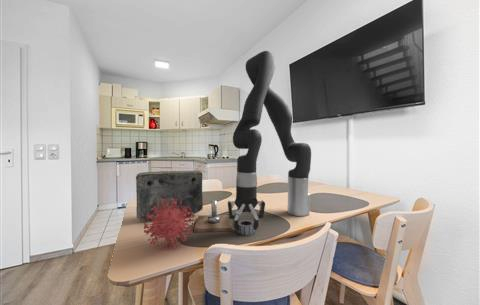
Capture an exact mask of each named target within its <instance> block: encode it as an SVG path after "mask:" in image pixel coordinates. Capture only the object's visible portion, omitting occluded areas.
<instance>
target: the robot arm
mask: <svg viewBox="0 0 480 305" xmlns="http://www.w3.org/2000/svg"><path fill="white" fill-rule="evenodd" d="M276 63H277V62H276V59H275V56H274V54H273V53H271V52H270V51H268V50H263V51H261V52H258V53H257V54H255V55H253V56H252V57H251V58H249V59H248V60H247V61H246V62H245V70H246V74H247V77H248V78H249V80H250V82H251V83H252V85H253V87H252V88H251V90H250V92H249V93H248V95H247V98H246V99H245V102H244V106H243V110H242V115H241V118H240V119H239V122H238V124H237V125H236V128H235V129H234V132H233V135H232V143H233V145H234V147H235V148H236V149H238V150H239V149H240V150H247V152H246V154H244V155H240V156H238V157H237V161H236V171H237V172H236V178H235V179H236V180H235V181H236V182H235V191H236V192H235V199H234V200H233V201H230V200H228V201H227V209H228V215H229V218H230V219H231V220H233V228H234V229H235V231H236V232H238V231H237V230H238V222H239V218H240V216H241V215H242V213H252V215H253V222H254V224H255V231H256V230H257V229H258V228H259V220H260V219H263V218H264V214H265V208H266V202H265V201H264V199H263V200H258V199H257V196H258V195H257V190H258V176H257V160H258V157H259V153H260V149H261V146H262V142H263V141H262V140H263V139H262V134H261V132H260V131H259V129H253V127H257V126H259V125H260V122H261V119H262V113H263V108H265V110H266V112H267V115H268V117H269V119H270V121H271V123H272V125H273V128H274V130H275V131H276V134H277V136H278V139H279V142H280V145H281V148H282V150H283V153H284V157H285V158H286V159H287V160H288V161H289V162H291V163H295V167H294V168H293V169H289V170H288V173H287V213H288V214H289V215H292V216H295V217H305V216H309V215H310V207H311V194H310V193H309V177H310V176H309V174H310V171H311V162H312V149H311V146H310V145H309V144H308V143H307V142H295V139H294V138H293V136H292V124H293V115H292V111H291V109H290V107H289V105H288V103H287V101H286V100H285V98H284V97H282V96H281V95H279V94H278V93H277V92H275V91H274V90H273V88H271V87H270V84H271V82H272V79H273V77H274V74H275V70H276V67H277V66H276V65H277V64H276ZM257 205H258V207H259V212H258V214H257V212H256V210H255V209H256V207H257ZM234 206H236V208H237V209H236V211H235V213H234V214H233V208H234Z"/></svg>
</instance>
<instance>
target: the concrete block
mask: <svg viewBox="0 0 480 305" xmlns="http://www.w3.org/2000/svg"><path fill="white" fill-rule="evenodd" d="M135 181H136V183H135V184H136V185H135V186H136V190H135V191H136V193H135V194H136V219H138V220H148V218H149V220H152V219H153V218H150V217H146V214H148V213H149V214H150V216H151V214H152V215H153V216H156V213H154V212H155V211H153V210H151V209H152V208H153V207H154V206H156V207H157V208H158V210H161V209H160V208H161V207H162V208H163V209H164V207H163V204H164V203H163V204H162V203H161V202H160V201H162V200H164V199H168V198H169V199H168V201H167V200H166V201H164V202H165V206H166V205H169V206H171V204H172V205H174V204H173V202H174V201H173V202H171V199H174V200H175V202H177V203H176V206H177V207H176V208H178V206H179V204H180V201H182V204H180V206H179V209H180V211H181V210H183V208H181V206H183V207H187V206H189V207H190V208H191V210H192V211H190V210H189V208H186V209H188V210H189V213H190V215H189V214H188V216H191V215H194V214H198V213H199V212H201V211H202V210H203V208H204V206H203V200H204V198H203V171H201V170H196V169H194V170H164V171H161V170H160V171H145V172H144V171H143V172H139V173H137V174H136V176H135ZM176 199H178V200H177V201H176ZM159 202H160V204H159ZM157 204H159V206H158V205H157ZM160 205H161V206H160ZM173 207H174V206H173ZM167 208H168V207H167ZM170 208H171V207H170ZM155 210H156V209H155ZM188 210H187V211H188ZM157 212H158V211H157ZM191 212H193V213H192V214H191Z"/></svg>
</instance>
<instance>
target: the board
mask: <svg viewBox="0 0 480 305" xmlns="http://www.w3.org/2000/svg"><path fill="white" fill-rule="evenodd" d="M210 215H211V214H208V215H198V216H197V219H196V221H195V224H194V227H193V228H194V229H193V233H203V232H204V233H206V232H210V233H211V232H233V224H232V219H230V218H229V214H218V215H219V216H220V222H219V223H214V224H212V223H209V222H208V216H210Z"/></svg>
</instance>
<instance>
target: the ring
mask: <svg viewBox="0 0 480 305" xmlns="http://www.w3.org/2000/svg"><path fill="white" fill-rule="evenodd" d="M236 232H237V234H238V235H241V236H245V237H246V236H252V235H254V234H255V232H256V230H255V224H254V220H248V219H242V220H238V230H237V231H236Z"/></svg>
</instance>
